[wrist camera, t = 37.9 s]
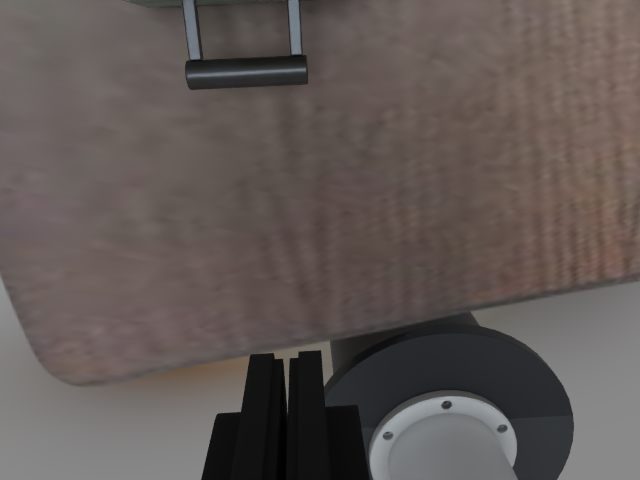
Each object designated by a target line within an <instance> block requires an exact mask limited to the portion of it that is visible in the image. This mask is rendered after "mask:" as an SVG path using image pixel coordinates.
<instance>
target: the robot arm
mask: <svg viewBox="0 0 640 480" xmlns="http://www.w3.org/2000/svg"><path fill="white" fill-rule="evenodd" d="M516 454H517V440H516V436H515V432H514V430H513V428H512V426H511V424H510V422H509V420H508V419H507V417H506V416H505V414H504V413H503V412H502V410H501V409H500V408H498V407H497V406H496V405H495V404H494V403H493V402H491V401H489V400H487V399H486V398H484V397H482V396H479V395H476V394H473V393H470V392H465V391H458V390H440V391H434V392H429V393H425V394H422V395H419V396H416V397H413V398H411V399H409V400H407V401H405V402H403V403H401V404H400V405H398V406H397V407H396V408H394V409H393V410H392V411H390V412H389V413H388V414H387V415H386V416H385V417H384V419H383V420H382V421H381V422H380V423H379V425H378V426H377V428H376V430H375V431H374V433H373V436H372V439H371V441H370V445H369V454H368V455H369V463H370V469H371V473H372V477H373V479H374V480H518V478H517V477H516V475H515V473H514V471H513V469H512V467H513V465H514V463H515V458H516ZM201 480H370V478H369V472H368V466H367V460H366V454H365V447H364V441H363V435H362V429H361V423H360V417H359V411H358V406H357V405H350V406H333V407H325V399H324V385H323V371H322V358H321V350H319V351H304V352H303V351H302V352H299V357H298V358H290V367H289V398H288V413H287V401H286V388H285V376H284V364H283V359H275V357H274V353H268V354H251V355H250V361H249V366H248V372H247V379H246V385H245V391H244V397H243V403H242V409H241V412H237V413H219V414H217V416H216V419H215V422H214V427H213V431H212V435H211V440H210V444H209V448H208V453H207V457H206V461H205V466H204V470H203V474H202V479H201Z"/></svg>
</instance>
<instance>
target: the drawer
mask: <svg viewBox="0 0 640 480" xmlns="http://www.w3.org/2000/svg"><path fill="white" fill-rule="evenodd" d="M123 1H127V2H130V3H134V4H137V5H141V6H144V7H148V8H150V7H173V6H183V14H184V21H185V29H186V37H187V45H188V53H189V60H191V61H186V65H185V74H186V80H187V84H188V87H189V89H191V90H198V89H219V88H240V87H261V86H282V85H303V84H308V71H307V56H306V55H302V54H303V53H302V34H301V15H300V1H307V0H123ZM285 1H287V6H288V22H289V39H290V54H291V56H276V57H255V58H234V59H212V60H203V52H202V44H201V36H200V27H199V19H198V10H197V5H218V4H240V3H262V2H285Z"/></svg>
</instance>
